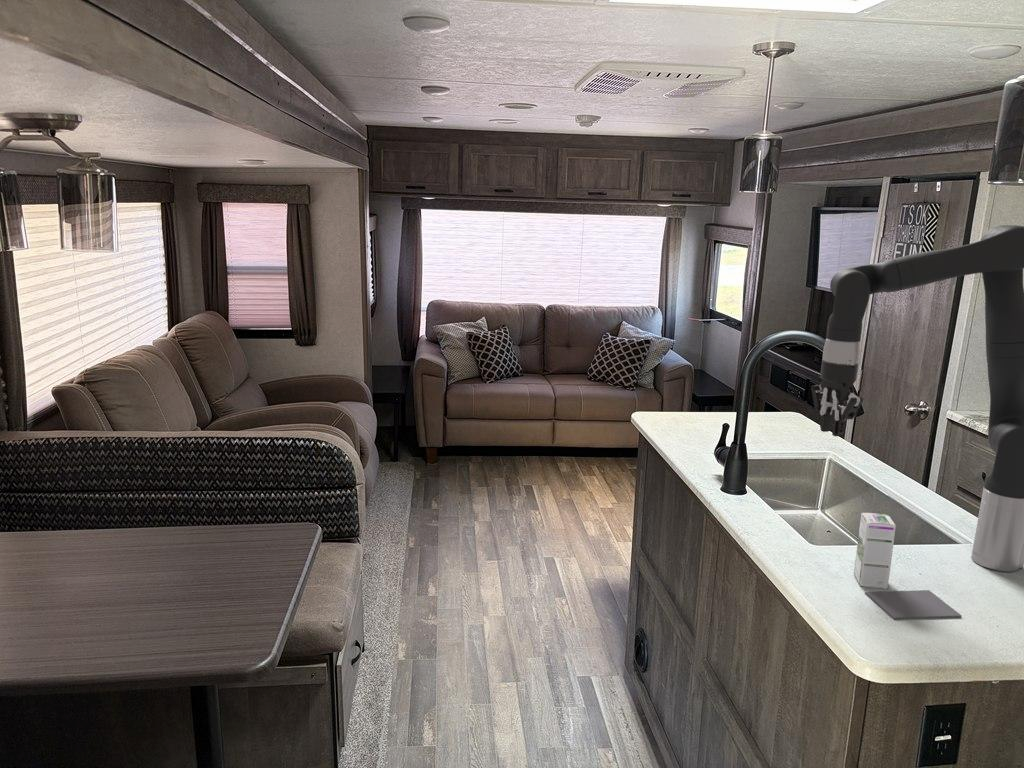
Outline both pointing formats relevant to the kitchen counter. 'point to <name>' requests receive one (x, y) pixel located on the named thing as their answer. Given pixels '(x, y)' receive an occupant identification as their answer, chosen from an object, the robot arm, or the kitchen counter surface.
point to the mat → (912, 604)
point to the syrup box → (874, 550)
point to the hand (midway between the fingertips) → (831, 433)
